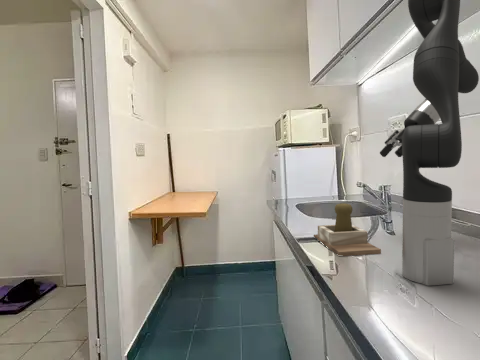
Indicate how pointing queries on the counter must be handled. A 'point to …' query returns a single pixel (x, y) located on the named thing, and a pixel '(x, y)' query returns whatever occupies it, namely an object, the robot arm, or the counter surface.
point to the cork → (343, 217)
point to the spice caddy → (346, 241)
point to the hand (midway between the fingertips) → (389, 155)
